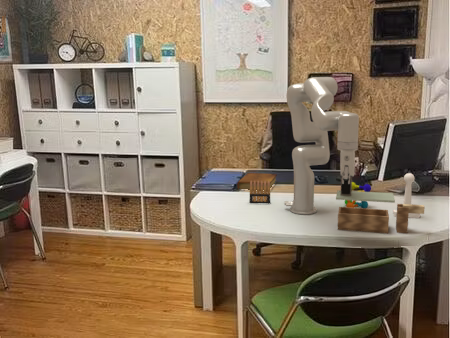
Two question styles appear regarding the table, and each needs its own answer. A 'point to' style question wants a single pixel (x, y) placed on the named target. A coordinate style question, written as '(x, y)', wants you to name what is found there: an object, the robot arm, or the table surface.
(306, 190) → the robot arm
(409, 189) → the joystick
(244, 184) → the diary
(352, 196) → the lid
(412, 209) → the key
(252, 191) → the ammunition clip
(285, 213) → the table surface
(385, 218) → the brown wooden open box
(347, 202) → the molecular model
